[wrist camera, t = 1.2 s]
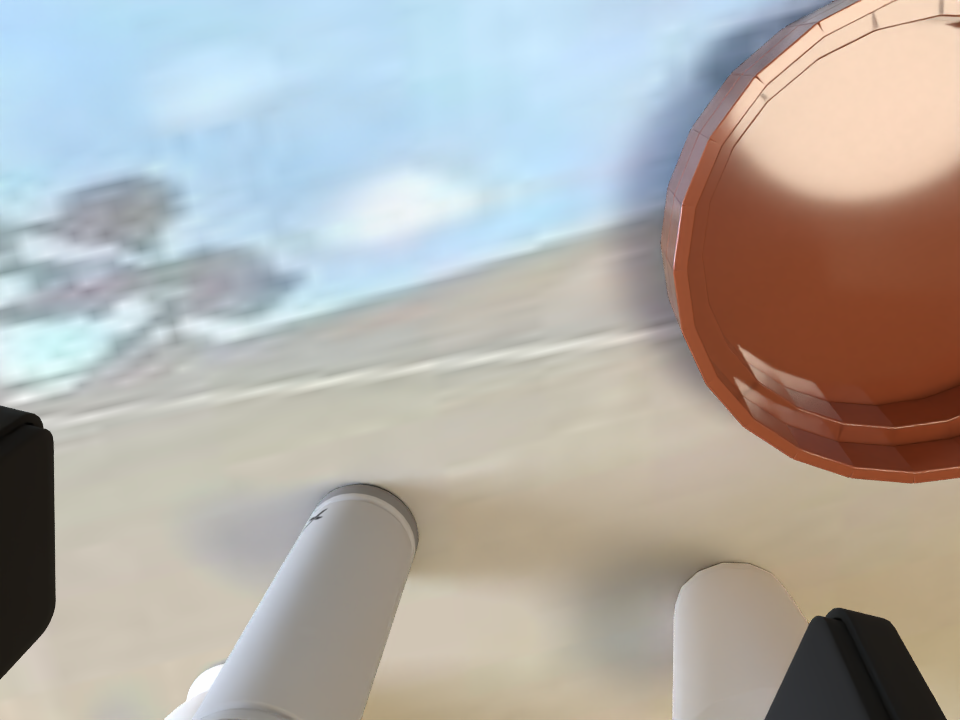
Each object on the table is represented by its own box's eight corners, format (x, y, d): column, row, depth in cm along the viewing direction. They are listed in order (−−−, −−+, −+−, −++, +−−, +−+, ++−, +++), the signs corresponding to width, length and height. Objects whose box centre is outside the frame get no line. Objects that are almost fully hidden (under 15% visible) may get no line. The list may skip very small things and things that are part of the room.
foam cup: (672, 522, 42) (712, 710, 30) (842, 557, 41) (954, 762, 29) (631, 656, 45) (651, 872, 33) (787, 689, 45) (866, 921, 33)
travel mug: (299, 482, 43) (94, 794, 25) (413, 482, 43) (288, 805, 24) (315, 574, 46) (138, 923, 27) (424, 575, 45) (317, 938, 26)
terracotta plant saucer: (572, 208, 36) (572, 232, 31) (974, -142, 30) (1057, -184, 24) (824, 497, 40) (860, 561, 35) (1228, 246, 33) (1345, 279, 28)
